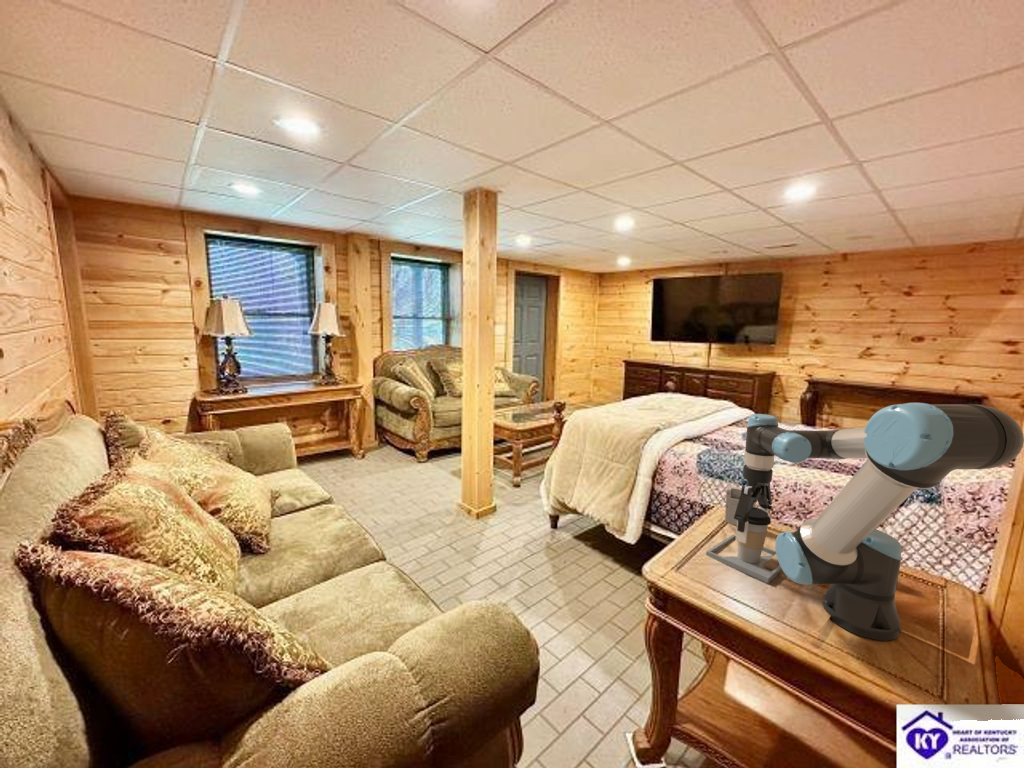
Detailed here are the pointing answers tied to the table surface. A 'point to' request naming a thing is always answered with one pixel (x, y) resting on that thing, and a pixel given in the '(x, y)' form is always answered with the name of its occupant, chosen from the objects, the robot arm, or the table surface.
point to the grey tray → (747, 568)
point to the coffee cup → (754, 536)
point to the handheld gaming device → (732, 504)
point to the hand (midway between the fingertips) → (751, 534)
